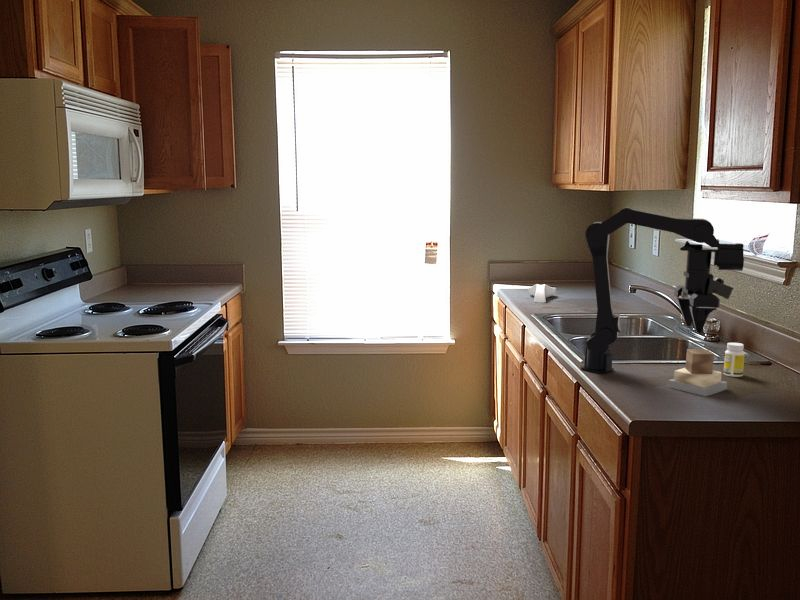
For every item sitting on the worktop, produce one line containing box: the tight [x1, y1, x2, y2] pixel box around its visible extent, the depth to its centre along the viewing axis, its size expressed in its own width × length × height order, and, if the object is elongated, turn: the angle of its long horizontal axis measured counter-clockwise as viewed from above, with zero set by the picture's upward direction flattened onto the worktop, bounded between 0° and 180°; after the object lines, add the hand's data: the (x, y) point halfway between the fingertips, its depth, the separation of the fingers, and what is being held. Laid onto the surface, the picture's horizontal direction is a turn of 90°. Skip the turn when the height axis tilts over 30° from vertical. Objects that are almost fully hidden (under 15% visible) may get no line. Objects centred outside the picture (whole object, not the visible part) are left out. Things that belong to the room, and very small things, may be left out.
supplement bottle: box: [723, 342, 746, 378], centre depth 202 cm, size 5×5×8 cm
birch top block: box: [673, 367, 722, 388], centre depth 188 cm, size 8×8×2 cm
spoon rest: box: [527, 283, 557, 304], centre depth 325 cm, size 24×12×7 cm, turn 168°
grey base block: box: [667, 378, 728, 397], centre depth 189 cm, size 10×10×2 cm
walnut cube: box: [684, 348, 715, 374], centre depth 188 cm, size 5×5×5 cm
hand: (693, 329), depth 196 cm, fingers open, 9 cm apart
